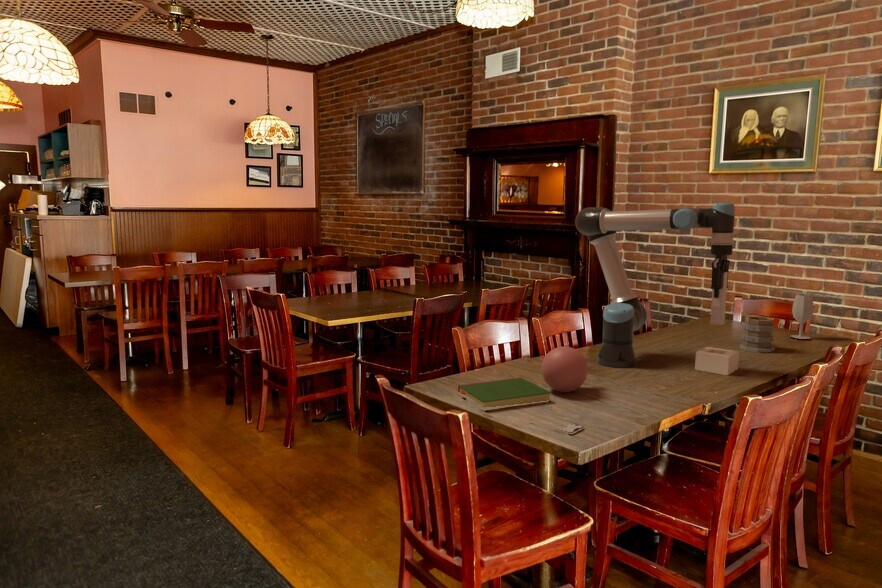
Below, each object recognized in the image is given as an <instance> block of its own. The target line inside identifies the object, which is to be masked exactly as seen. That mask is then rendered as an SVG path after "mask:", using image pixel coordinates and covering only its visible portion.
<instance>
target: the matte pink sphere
mask: <svg viewBox="0 0 882 588" xmlns="http://www.w3.org/2000/svg"><path fill="white" fill-rule="evenodd" d="M590 360H591V358H590V357H588V356H587V357H584V355H583V354H582V353H581V352H580V351H579V350H577V349H575V348H573V347H570V346H557V347H555V348H553V349H551V350H550V351H548V353H546V355H544V358H543V360H542V363H541V375H542V378H543V380H544V382H545V384H547V385H548V387H549V388H551V389H552V390H555V391H557V392H559V393H560V392H561V393H571V392H573V391H576V390H577V389H579V388H580V387H581V386H582V385H584V383H585V382H586V380H587V377H588V371H589V369H588V363H587V362H590Z"/></svg>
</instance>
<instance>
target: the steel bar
mask: <svg viewBox="0 0 882 588" xmlns="http://www.w3.org/2000/svg"><path fill="white" fill-rule="evenodd" d="M727 275H728V276H729V272H722V280H721V288H720V289H721V306H720V307H718V306H712V304H713V289H711V307H710V325H717V326H722V325H725V323H726V308H727V307H726V305H727V290H728V288H727V286H728V285H727Z"/></svg>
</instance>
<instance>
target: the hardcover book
mask: <svg viewBox="0 0 882 588" xmlns="http://www.w3.org/2000/svg"><path fill="white" fill-rule="evenodd" d="M458 392H460V393H461V394H464V395H466V396H467V397H469V398H470V399H472V400H473V401H475V402H476V403H478V404H479V405H481V406H482V407H484V408H485V407H496V406H505V405H514V404H523V403H532V402H540V401H547V400H550V399H551V393H552V392H551V391H549V390H547V389H545V388H543V387H541V386H538V385H537V384H535V383H533V382H531V381H529V380H526V379H525V378H523V377H516V378H508V379H500V380H492V381H491V380H490V381H483V382H475V383H470V384H469V383H468V384H460V385H458V386H457V393H458ZM550 401H551V400H550Z"/></svg>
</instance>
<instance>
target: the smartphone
mask: <svg viewBox="0 0 882 588" xmlns="http://www.w3.org/2000/svg"><path fill="white" fill-rule="evenodd" d="M572 423H573V422H570V423H569V424H568V426H567V425H566V426H567V427H566V428H565V427H564V428H563V429H562V428H561V429H559V427H558V429H557V430H561V431H565V432H568V433H573V432H575V431H577V430H579V429H582V428H583V429H584V425H581V424H578V423H573V424H572ZM564 426H565V425H564Z"/></svg>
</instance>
